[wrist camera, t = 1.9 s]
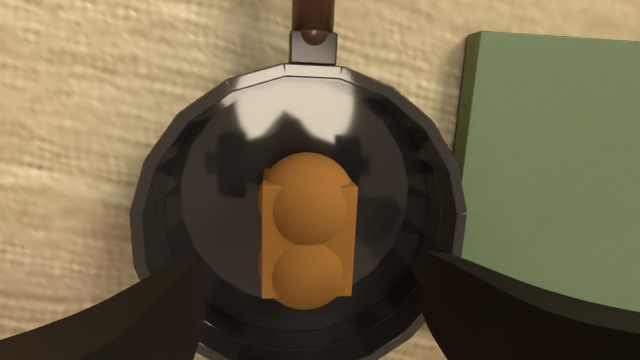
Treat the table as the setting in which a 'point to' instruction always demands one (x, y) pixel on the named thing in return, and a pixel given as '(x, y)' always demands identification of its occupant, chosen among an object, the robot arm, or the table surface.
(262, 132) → the pan
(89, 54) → the table surface
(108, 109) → the table surface
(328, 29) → the pan handle
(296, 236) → the orange double sphere block
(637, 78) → the cutting board
